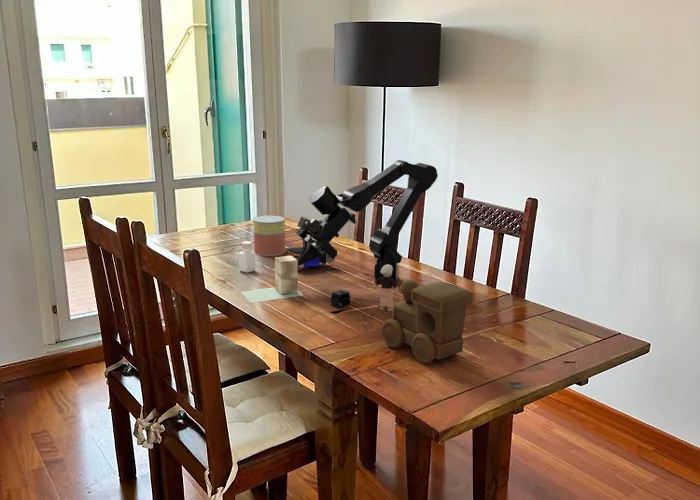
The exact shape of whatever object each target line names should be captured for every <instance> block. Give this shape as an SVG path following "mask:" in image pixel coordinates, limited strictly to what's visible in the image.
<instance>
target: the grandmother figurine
mask: <svg viewBox="0 0 700 500" xmlns="http://www.w3.org/2000/svg"><path fill="white" fill-rule="evenodd" d="M392 268H393V267H392V266H391V265H389V264H387V265H384V266H383V267H382V269H381V271H380V272H381V273H382V274H383V276H384V277H380V278H378V279H377V280H376V281H375V280H374V284H373V286H372V287H373V289H377V288H378V286H380V292H379V293H380V295H379V300H380V301H379V303H380V304H379V305H380V306H379V310H382V311H383V310H386V311H387V312H393V305H394V293H395V294H396V295H398V294H399V293H400V292H399V287H398V285H397V281H396V282H395V281H394V279H392V278H390V276H391V275H392V270H393V269H392ZM393 289H394V290H393Z"/></svg>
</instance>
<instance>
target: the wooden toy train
mask: <svg viewBox="0 0 700 500" xmlns="http://www.w3.org/2000/svg"><path fill="white" fill-rule="evenodd" d="M399 290H400V292H401V294H402V297H403V300H402V301H401V300H400V301H398V302H396V303H393V311H392V314H391V315H392V318H389V319H386V320H385V322H383V324H382V328H381V334H382V335H381V336H382V339H383V340H384V342H385V344H386V345H387V346H389V348H392V349H398V348H400V347H402V345H403V343H405V344H406V345H409V346H411V351H412V355H413V356H414V358H415V359H416V360H417V361H418V362H420V363H422V364H425V365H427V364H430V363H431V362H432V363H433V361H434V359H437V360H442V359H444V358H445V359H446V358H447V357H451V356H453V355H457V354H458V353H461V352H463V350H464V338H463V336H462V335H463V331H464V327H465V322H466V315H467V314H466V313H467V306H470V305H473V304H472V303H473V292H471V291H469V290H467V289H465V288H463V287H459V286H457V285H454V284H452V283H451V284H450V283H446V282H442V281H439V282H433V283H427V284H424V285H420V286H419V285H418V284H417V282H416V280H415V279H404V281H403V282H402V284H401V285H400V286H399Z"/></svg>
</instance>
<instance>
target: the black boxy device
mask: <svg viewBox="0 0 700 500" xmlns="http://www.w3.org/2000/svg"><path fill="white" fill-rule="evenodd" d="M350 305H351V294H350V291H347V290H344V289H338V290H336V291H333V292H331V297H330V306H332V307H334V308H337V309H341V310H334V311H333V310H332V311H329V313H330V314H334V315H336V314H340V313H343V312H346V311H348V310H352V308H346V309H342V308H343V307H347V306H350Z"/></svg>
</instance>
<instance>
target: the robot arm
mask: <svg viewBox="0 0 700 500" xmlns="http://www.w3.org/2000/svg"><path fill="white" fill-rule="evenodd" d="M405 175H406V176H408V177H407V187H406V188H405V191H404V192H403V195H402V196H401V198H400V200H399V201H398V203H397V205H396V206H395V208H394V210H393V212H392V214H391V215H390V218H389V219H388V220H387V222H386V224H385V226H384V227H382V228H381V229H378V228H375V230H374V232H373V234H372V235H371V237H370V238H369V240H370V241H369V244H368V246H369V250H370V252H371V253H372V254H373V257H374V259H377V260H376V263H375V264H374V276H373V277H374V278H375V279H374V282H375V281H376V280H377V279H378V278H380V277H384V276H383V274H382V273H381V272H380V271H381V269H382V267H383V266H384V265H387V264H389V265H391V266H392V267H393V268H392V269H393V270H392V275H391V276H390V278H392V279H394V281H395V282H396V283H397V280H398V277H399V275H398V264H400V263H401V261H402V260H403V256H402V254H400V253H399V251H397V247H398V244H399V235H400V233H401V231H402V230H403V228H404V226H405V224H406V223H407V220H408V219H409V217H410V216H411V214H412V212H413V210H414V208H415V207H416V204H417V203H418V201H419V200H420V197H421V196H422V194H424V193H426V191H428V190H429V189H431V188H432V186H433V185H434V184H435V182H436V181H437V179H438V176H439V173H438V170H437V169H436V167H435V166H433V165H430V164H428V163H427V164H426V163H423V162H418V163H415V164H414V163H413V164H412V163H410V162H408V161H404V160H401V159H398V160H396V161H394V162H393V163H392V164H391V165H390V166H387V168H385V169H384V170H382V171H381V172H379V173H378V174H377V175H375V176H374V177H372V178H371V179H369V180H368V181H366V182H364V183H362V184H359V185H355V186H353V187H350V188H348V189H346V190H344V191H343V193H340V194H335V193H334V192H332V190H331V188H330V187H329V186H327V185H326V184H325V185H323V186H322V187H320V188H318V189H317V190H315V191H313V192H312V193H311V195H310V196H309V198H308V202H309V203H310V204H311V205H312V206H313V207H314V208H315V209H316V210H317V211H318V212H319V213H320V214H321V215H322V216H325V215H327V216H326V217H324V219H323V220H322V219H315V218H311V219H309V218H307V217H304V216H300V218H299V221H298V223H297V225H296V226H297V227H299V228H298V229H297V230H296V231H295V233H296V235H298V237H300V238H301V241H302V247H303V248H302V250H301V252H300V254H299V255H298V256H299V257H298V259H297V265H298V266H300V265H302V264H304V263H307V262H309V261H311V260H314V259H316V258H319V257H321V256H322V257H323V256H324V255H323V252H325V253H326V254H327V255H328V257H329V258H331V259H332V260H333V259H334V258H335V259H336V258H337V256H338V250H337V249H336V248H335V247H334V246H333V245H332V244H331V243H330V242H332V240H333V239H334V238H336V239H337V238H339V236H340V234H339V232H341V230H342V229H343V228H344V227H345V225H347V223H348V222H349V223H352V224H354V225H355V224H356V223H357V222H356V214H355V213H351V212H349V210H351V211H353V212H356V213H359V212H362V211H363V210H364V209H365V208H366V207H367V206H368V205H369V204H370V203H371V202H372V200H373V198H374V197H375V196H376V195H377V194H379V193H381V192H382V191H383V190H385V189H386V188H387V187H389V186H390V185H392V184H393V183H395V182H396V181H397V180H399V179H401V178H402V177H403V176H405ZM340 205H341V206H343V207H341V206H340ZM347 209H348V210H347Z"/></svg>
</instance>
